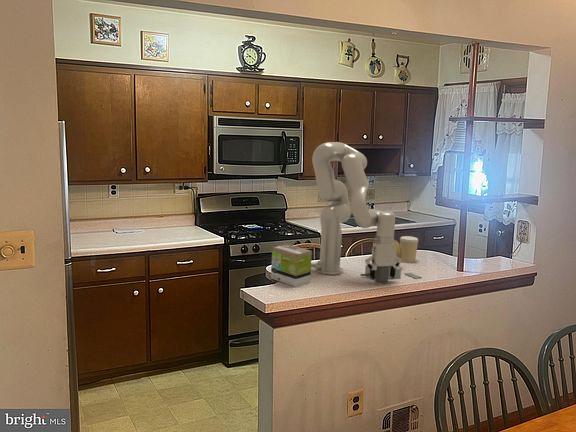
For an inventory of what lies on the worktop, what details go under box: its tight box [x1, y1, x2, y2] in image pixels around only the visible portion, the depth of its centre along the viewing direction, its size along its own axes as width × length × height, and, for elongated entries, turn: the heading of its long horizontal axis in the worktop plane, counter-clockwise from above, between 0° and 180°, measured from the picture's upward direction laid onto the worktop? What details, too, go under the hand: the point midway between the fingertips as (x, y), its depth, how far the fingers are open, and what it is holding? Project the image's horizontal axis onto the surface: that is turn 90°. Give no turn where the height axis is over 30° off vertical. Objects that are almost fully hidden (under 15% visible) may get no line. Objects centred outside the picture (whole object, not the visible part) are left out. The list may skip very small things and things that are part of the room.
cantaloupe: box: [371, 239, 402, 262], centre depth 263 cm, size 15×15×15 cm
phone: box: [403, 272, 422, 280], centre depth 250 cm, size 4×8×1 cm, turn 26°
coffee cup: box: [399, 235, 419, 263], centre depth 277 cm, size 9×9×12 cm
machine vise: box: [360, 264, 402, 281], centre depth 247 cm, size 18×8×5 cm, turn 107°
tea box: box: [270, 244, 313, 288], centre depth 234 cm, size 15×10×15 cm, turn 47°
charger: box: [375, 266, 389, 284], centre depth 238 cm, size 4×4×7 cm
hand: (382, 277), depth 239 cm, fingers open, 9 cm apart
